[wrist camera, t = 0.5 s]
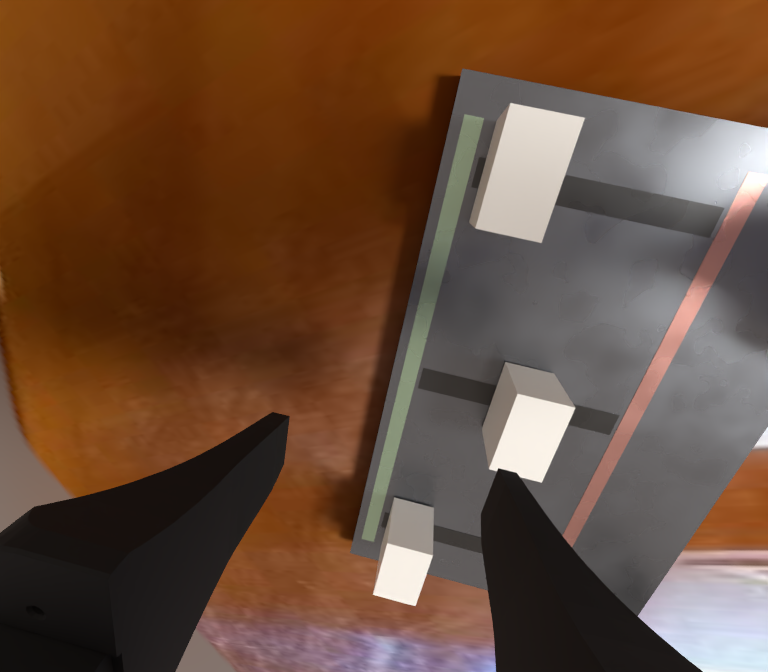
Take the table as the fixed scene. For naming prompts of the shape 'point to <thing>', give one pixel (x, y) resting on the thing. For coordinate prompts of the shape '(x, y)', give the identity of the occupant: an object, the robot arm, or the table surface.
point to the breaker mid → (526, 421)
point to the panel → (587, 335)
